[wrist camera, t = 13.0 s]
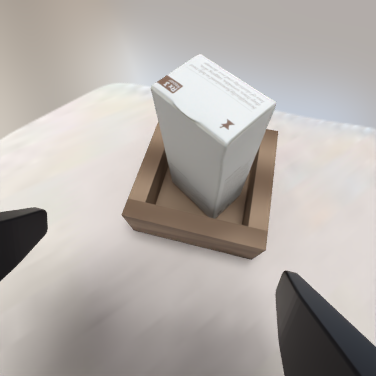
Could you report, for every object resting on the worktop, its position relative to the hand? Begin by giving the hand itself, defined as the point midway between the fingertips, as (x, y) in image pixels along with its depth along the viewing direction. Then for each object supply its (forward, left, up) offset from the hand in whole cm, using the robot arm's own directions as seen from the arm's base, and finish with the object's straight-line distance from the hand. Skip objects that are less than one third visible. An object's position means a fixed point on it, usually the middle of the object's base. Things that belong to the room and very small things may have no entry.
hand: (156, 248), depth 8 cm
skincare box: (+8, -3, -13) cm, 16 cm away
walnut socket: (+9, -3, -14) cm, 16 cm away
